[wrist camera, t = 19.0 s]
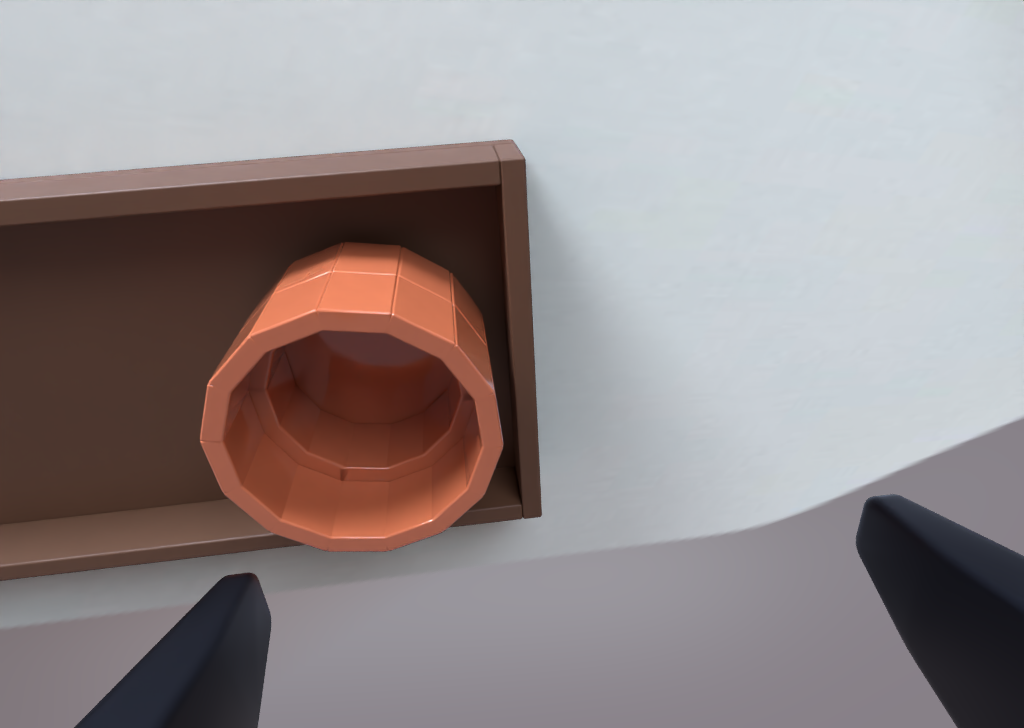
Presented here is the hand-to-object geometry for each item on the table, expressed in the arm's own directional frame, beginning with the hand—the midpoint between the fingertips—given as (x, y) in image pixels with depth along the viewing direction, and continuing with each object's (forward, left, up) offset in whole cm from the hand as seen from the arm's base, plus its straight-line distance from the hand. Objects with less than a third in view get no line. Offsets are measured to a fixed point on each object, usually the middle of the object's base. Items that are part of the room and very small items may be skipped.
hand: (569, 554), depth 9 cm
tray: (+2, +11, -11) cm, 16 cm away
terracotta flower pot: (0, +4, -10) cm, 11 cm away
